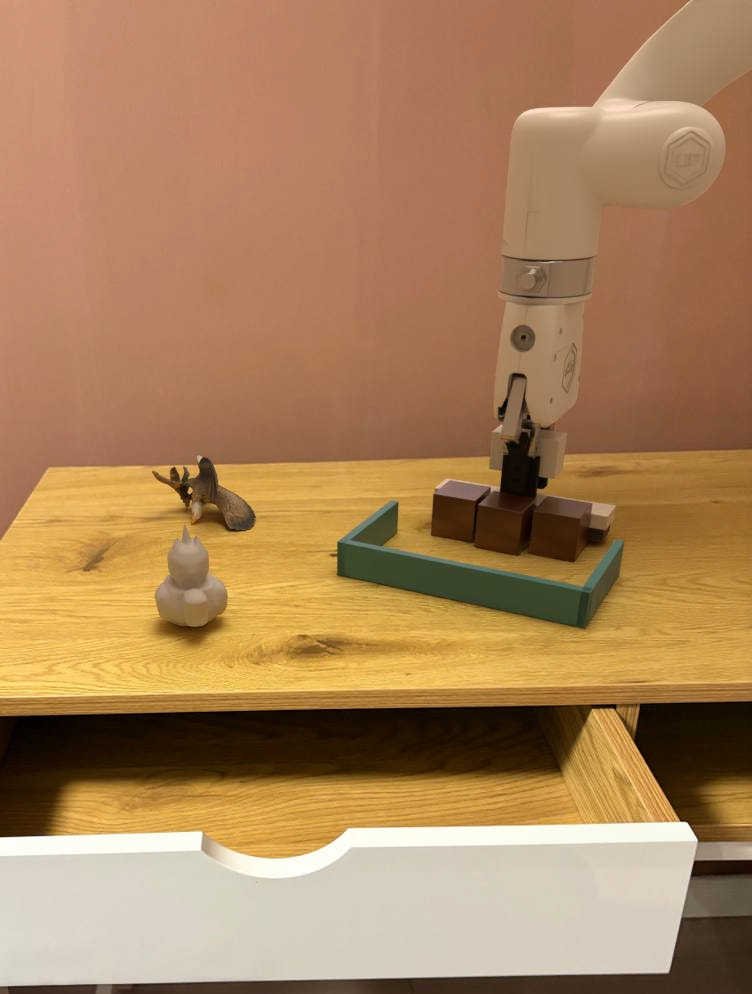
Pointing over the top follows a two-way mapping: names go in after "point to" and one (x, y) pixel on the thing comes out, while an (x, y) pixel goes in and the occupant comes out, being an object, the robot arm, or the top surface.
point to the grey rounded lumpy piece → (190, 586)
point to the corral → (471, 575)
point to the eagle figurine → (209, 495)
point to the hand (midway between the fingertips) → (523, 490)
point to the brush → (550, 475)
